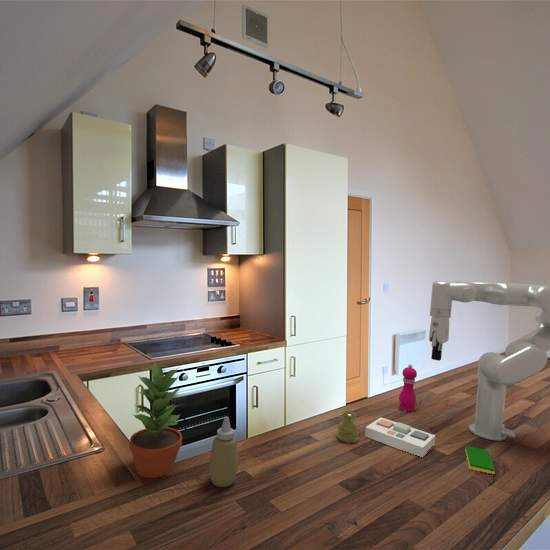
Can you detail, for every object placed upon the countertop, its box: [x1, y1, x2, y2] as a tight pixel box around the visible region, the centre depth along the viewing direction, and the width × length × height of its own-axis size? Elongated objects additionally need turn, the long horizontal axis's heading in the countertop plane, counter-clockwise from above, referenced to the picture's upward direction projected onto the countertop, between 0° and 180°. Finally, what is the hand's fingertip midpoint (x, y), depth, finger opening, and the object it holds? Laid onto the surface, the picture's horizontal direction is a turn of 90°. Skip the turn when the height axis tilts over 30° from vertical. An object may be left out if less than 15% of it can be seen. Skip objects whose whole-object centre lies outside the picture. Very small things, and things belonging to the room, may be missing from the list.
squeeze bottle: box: [208, 416, 239, 488], centre depth 108 cm, size 8×8×18 cm
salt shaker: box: [336, 409, 360, 444], centre depth 140 cm, size 7×7×10 cm
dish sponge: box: [464, 445, 496, 474], centre depth 129 cm, size 7×14×2 cm, turn 159°
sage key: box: [393, 422, 411, 435], centre depth 142 cm, size 5×5×3 cm
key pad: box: [364, 417, 436, 458], centre depth 141 cm, size 21×13×4 cm, turn 51°
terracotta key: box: [377, 419, 394, 429], centre depth 146 cm, size 5×5×3 cm
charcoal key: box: [411, 430, 428, 441], centre depth 138 cm, size 5×5×3 cm
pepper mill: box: [398, 363, 418, 412], centre depth 173 cm, size 7×7×20 cm
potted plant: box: [128, 360, 183, 479], centre depth 112 cm, size 15×15×30 cm
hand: (436, 359), depth 154 cm, fingers closed
